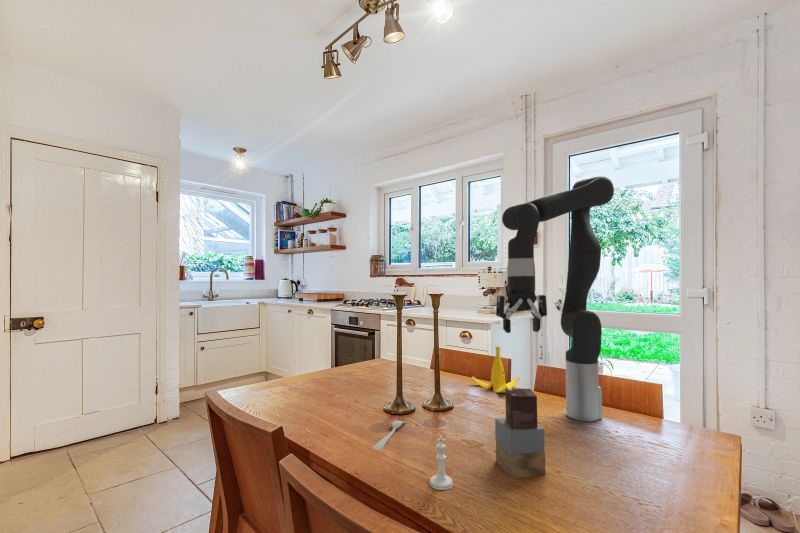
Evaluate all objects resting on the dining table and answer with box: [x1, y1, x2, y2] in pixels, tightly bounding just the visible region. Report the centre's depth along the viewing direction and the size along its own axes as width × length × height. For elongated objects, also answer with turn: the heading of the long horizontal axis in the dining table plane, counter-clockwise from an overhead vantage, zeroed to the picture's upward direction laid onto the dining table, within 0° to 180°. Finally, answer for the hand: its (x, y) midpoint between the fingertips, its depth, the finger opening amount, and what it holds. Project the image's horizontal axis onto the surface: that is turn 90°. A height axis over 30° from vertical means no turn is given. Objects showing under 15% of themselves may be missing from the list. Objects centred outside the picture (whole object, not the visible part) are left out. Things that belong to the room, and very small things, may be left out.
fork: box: [372, 420, 407, 451], centre depth 109 cm, size 3×21×3 cm, turn 158°
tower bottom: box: [495, 440, 546, 479], centre depth 89 cm, size 8×8×5 cm
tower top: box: [494, 417, 545, 455], centre depth 90 cm, size 8×8×5 cm
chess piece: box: [429, 435, 454, 491], centre depth 83 cm, size 5×5×10 cm
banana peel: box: [471, 345, 520, 394], centre depth 154 cm, size 17×19×17 cm
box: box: [504, 388, 539, 429], centre depth 90 cm, size 6×6×7 cm
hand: (521, 332), depth 110 cm, fingers open, 8 cm apart
